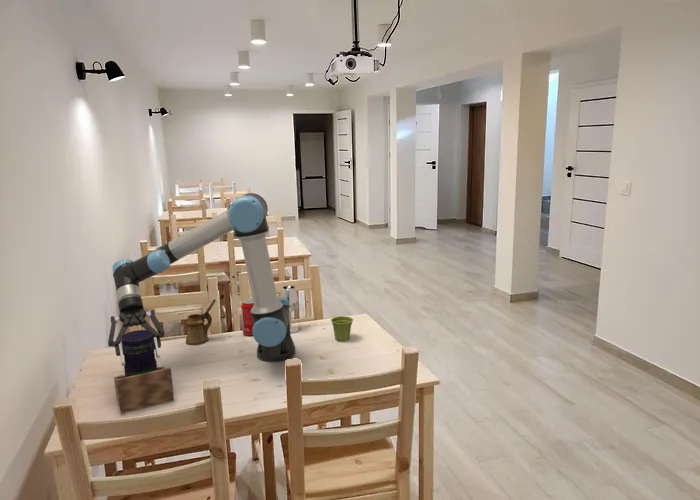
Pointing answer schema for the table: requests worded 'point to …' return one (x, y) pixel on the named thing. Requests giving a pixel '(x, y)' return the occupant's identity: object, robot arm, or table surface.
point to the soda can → (247, 316)
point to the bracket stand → (144, 389)
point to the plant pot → (342, 327)
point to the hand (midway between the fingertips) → (141, 360)
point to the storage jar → (138, 352)
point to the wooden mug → (198, 327)
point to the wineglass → (291, 301)
